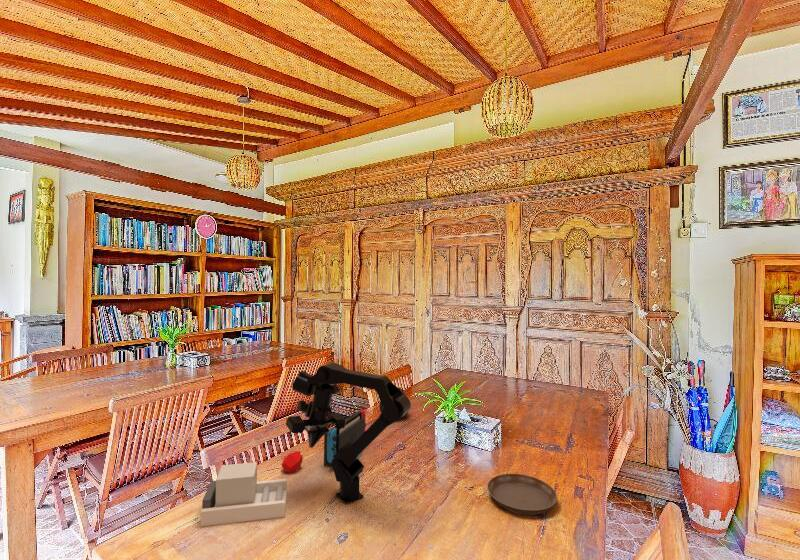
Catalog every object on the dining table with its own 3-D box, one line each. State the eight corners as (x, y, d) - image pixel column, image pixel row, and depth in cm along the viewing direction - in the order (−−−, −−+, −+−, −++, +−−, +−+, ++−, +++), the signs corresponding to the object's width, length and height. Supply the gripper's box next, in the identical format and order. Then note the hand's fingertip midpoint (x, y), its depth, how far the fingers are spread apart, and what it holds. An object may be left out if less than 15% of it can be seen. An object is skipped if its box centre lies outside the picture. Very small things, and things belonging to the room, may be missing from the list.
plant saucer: (551, 528, 112) (552, 516, 112) (479, 507, 122) (479, 496, 122) (560, 493, 131) (560, 483, 131) (496, 477, 140) (496, 468, 140)
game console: (333, 474, 140) (334, 432, 140) (317, 470, 143) (318, 429, 143) (368, 443, 167) (369, 408, 166) (354, 441, 169) (355, 406, 169)
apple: (286, 461, 137) (303, 446, 144) (274, 460, 141) (291, 444, 148) (294, 478, 139) (310, 462, 145) (282, 476, 143) (298, 460, 149)
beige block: (256, 488, 124) (257, 462, 124) (253, 504, 115) (253, 476, 115) (221, 491, 122) (221, 465, 122) (215, 508, 113) (215, 479, 113)
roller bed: (286, 491, 129) (287, 478, 129) (284, 516, 115) (285, 502, 115) (211, 498, 124) (212, 485, 124) (200, 526, 110) (200, 511, 110)
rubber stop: (218, 496, 123) (218, 480, 122) (209, 517, 112) (210, 499, 112) (210, 497, 122) (211, 481, 122) (202, 518, 112) (202, 500, 112)
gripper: (335, 389, 142) (325, 431, 143) (284, 391, 130) (274, 436, 132) (351, 404, 133) (340, 448, 135) (298, 407, 122) (287, 456, 123)
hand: (311, 446), depth 131 cm, fingers closed
